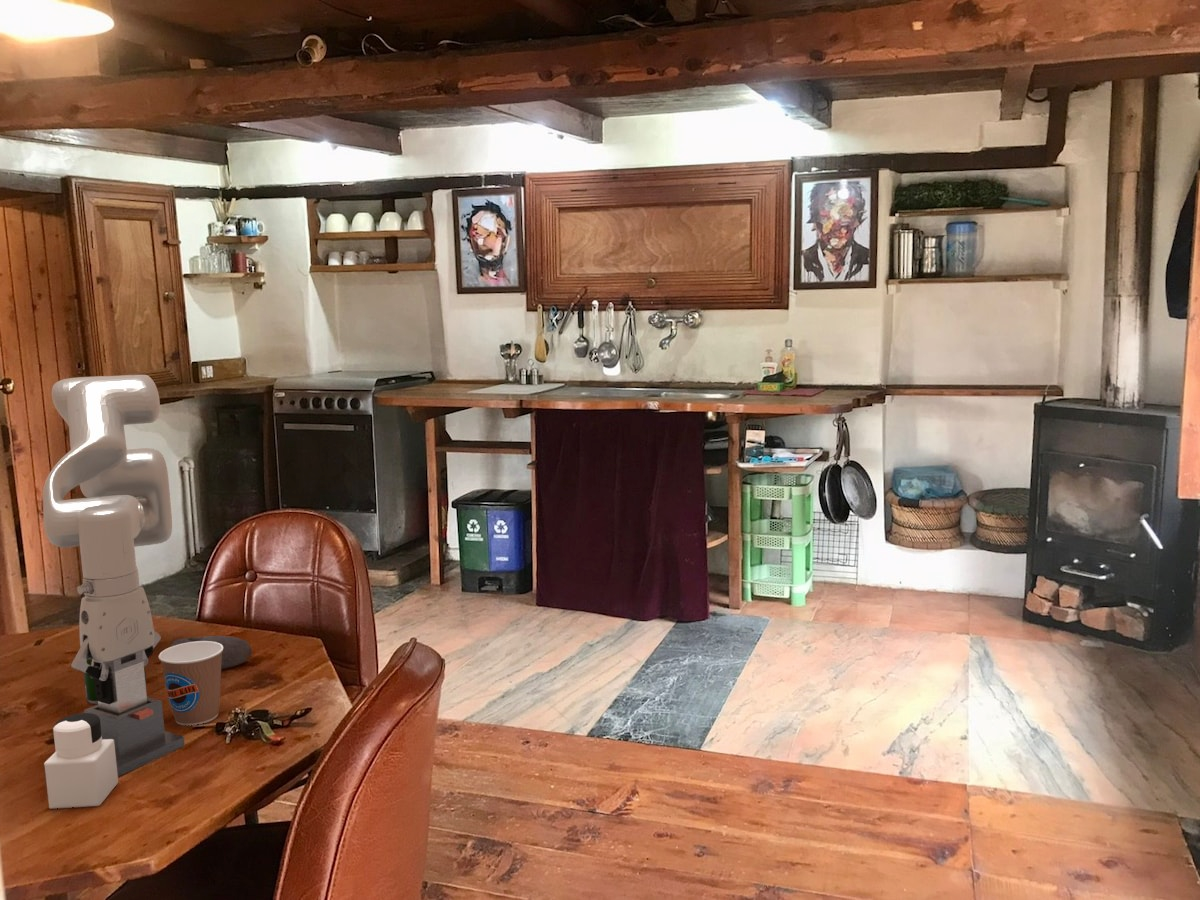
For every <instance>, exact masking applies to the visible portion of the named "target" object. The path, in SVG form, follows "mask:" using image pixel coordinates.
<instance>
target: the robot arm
mask: <svg viewBox="0 0 1200 900" xmlns="http://www.w3.org/2000/svg"><path fill="white" fill-rule="evenodd" d="M51 400H52V403H53V405H54V408H55V410H56V411H57V413H58V414H59V415H60V416H61V418H62V419H63V421H64V422H65V423H66V424H67V426H68V429H69V430H68V431H69V446H70V450H69V451H67V453H65V455H63V456H62V457H61V458H60V459H59V460H58V461H57V463H56V464H55V465H54V466H53V467H52V468H51V470H50V472H49V473H48V475H47V477H46V480H45V482H44V485H43V488H42V489H43V490H42V506H43V507H42V508H43V510H42V512H43V527H44V532H45V536H46V538H47V540H48V541H49V543H50V544H52V545H54V546H56V547H58V548H72V547H73V548H75V547H79V549H80V550H79V551H80V559H81V570H82V584H81V585H78V586H77V587H76V591H77V594H79V595H84V596H83V597H82V598H81V601H80V606H79V607H80V608H79V620H78V621H79V622H78V623H79V624H78V625H79V627H78V628H79V629H78V631H79V645H80V646H79V647H80V648H79V649H78V651H77V653H76V654H75V657H74V658H73V661H72V662H71V665H70V666H71V668H73V669H74V670H76V671H79V672H82V673H83V674H84V673H85V674H87V675H89V676H90V677H91V678H94V684H95V693H96V698H97V700H98V701H99V702H102V703H106V704H112V703H113V691H112V681H111V679H109V678H108V672H109V662H112V661H115V660H117V659H120V658H124V657H127V656H129V655H132V654H135V653H137V652H140V651H142V652H143V663H144V673H145V684H146V683H147V673H146V666H147V665H148V663H149V658H150V657H151V655H152V653H153V651H154V649H155V647H156V646H157V645H158V644H159V642H160V641H161V640H162V639H161V638H162V637H161V634H159V633H158V632H157V631H155V628H154V623H153V617H152V613H151V607H150V604H149V601H148V598H147V594H146V591H145V589H144V587H143V586H141V585H140V577H139V570H138V567H137V561H136V551H135V550H136V547H144V546H152V545H159V544H163V543H165V542H167V541H168V540H169V539H170V538H171V536H172V533H173V530H172V529H173V516H172V515H173V513H172V506H171V494H170V482H169V481H170V480H169V474H168V473H169V471H168V467H167V462H166V459H165V457H164V455H163V454H162V453H161V452H160V451H159V450H158V449H155V448H152V447H151V448H148V447H146V448H142V447H141V448H133V449H127V448H128V447H127V442H126V440H127V439H126V435H125V426H126V425H141V424H142V425H143V424H153V423H155V422H156V421H157V419H158V417H159V415H160V411H161V410H160V408H161V404H160V403H161V401H160V394H159V391H158V387H157V385H156V383H155V382H154V380H153V379H152V378H151V377H150V376H149V375H147V374H127V375H101V376H100V375H97V376H96V375H95V376H79V377H78V376H77V377H70V378H64V379H60V380H58V381H57V382H55V383H54V384H53V386H52V388H51ZM78 486H79V487H80V491H81V493H82V494H83V496H84V497H81V498H73V499H64V498H65V497H66V495H67V494H68V493H69V492H70V491H71V490H73V489H75V487H78ZM138 497H142V498H138ZM87 659H92V663H91V665H88V664H87V663H86V661H87ZM100 664H101V665H100ZM146 685H147V684H146Z"/></svg>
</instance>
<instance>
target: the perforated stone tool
mask: <svg viewBox="0 0 1200 900" xmlns="http://www.w3.org/2000/svg"><path fill="white" fill-rule="evenodd" d="M195 641H212V642H217V643H220V644H222V645H223V651H222V660H221V670H225V669H229V668H233V667H236V666H239V665H242V664H243V663H244V662H246V661H248V659H250V657H251V655H252V647H251V645H250V643H249V642H248V641H247V640H244V639H242V638H240V637H236V636H229V635H228V636H226V635H208V636H201V637H199V636H198V637H193V636H192V637H187V638H186V637H185V638H178V639H175V640H173V642H172V643H171V645H170V647H172V646H175V645H179V644H183V643H188V642H195Z"/></svg>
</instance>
